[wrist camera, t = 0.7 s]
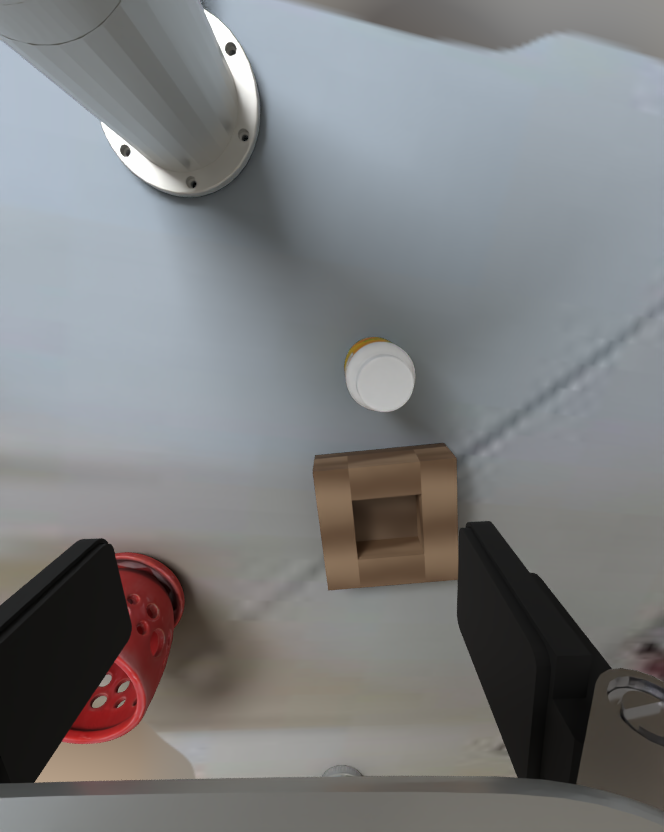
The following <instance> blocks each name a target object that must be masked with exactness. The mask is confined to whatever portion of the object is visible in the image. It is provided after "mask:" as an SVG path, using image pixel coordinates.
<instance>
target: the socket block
mask: <svg viewBox="0 0 664 832" xmlns="http://www.w3.org/2000/svg"><path fill="white" fill-rule="evenodd" d="M313 478H314V485H315V493H316V500H317V508H318V516H319V523H320V531H321V538H322V546H323V553H324V561H325V568H326V576H327V583H328V590H338V589H350V588H362V587H375V586H387V585H399V584H411V583H423V582H435V581H447V580H458V515H457V459H456V457H455V456H454V455H453V453H452V452H451V451H450V450H449V448H448V447H447V446H446V445H445V444H444V443H438V444H427V445H417V446H407V447H397V448H386V449H376V450H366V451H355V452H345V453H335V454H325V455H315V459H314V466H313Z"/></svg>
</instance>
